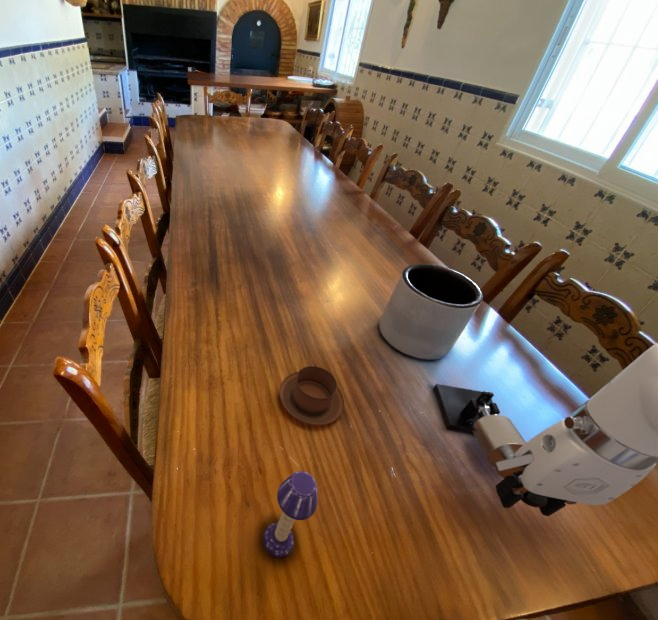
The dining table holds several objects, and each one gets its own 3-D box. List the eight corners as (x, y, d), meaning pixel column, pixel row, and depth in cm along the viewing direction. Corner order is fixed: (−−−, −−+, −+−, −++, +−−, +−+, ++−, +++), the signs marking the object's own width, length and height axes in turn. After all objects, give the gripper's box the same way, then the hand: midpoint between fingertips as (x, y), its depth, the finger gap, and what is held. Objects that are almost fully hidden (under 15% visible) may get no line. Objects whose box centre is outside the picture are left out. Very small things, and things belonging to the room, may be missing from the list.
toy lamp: (264, 517, 52) (282, 460, 41) (296, 522, 51) (323, 467, 41) (261, 555, 48) (281, 503, 37) (296, 561, 48) (325, 511, 37)
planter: (363, 323, 86) (385, 269, 76) (411, 308, 92) (437, 257, 82) (413, 371, 76) (446, 316, 66) (464, 351, 81) (502, 297, 71)
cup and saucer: (272, 378, 71) (277, 357, 67) (329, 376, 73) (337, 355, 69) (285, 432, 62) (291, 412, 58) (350, 428, 64) (361, 408, 60)
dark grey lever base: (504, 440, 64) (528, 416, 59) (446, 429, 65) (466, 405, 60) (484, 397, 71) (505, 373, 67) (433, 388, 72) (449, 364, 68)
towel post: (488, 421, 66) (551, 521, 50) (455, 415, 67) (506, 513, 50) (504, 397, 63) (575, 496, 47) (469, 391, 64) (527, 487, 47)
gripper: (552, 449, 38) (468, 516, 50) (726, 481, 37) (598, 542, 48) (521, 393, 44) (452, 465, 56) (671, 419, 42) (568, 487, 54)
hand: (521, 500), depth 52 cm, fingers open, 4 cm apart
